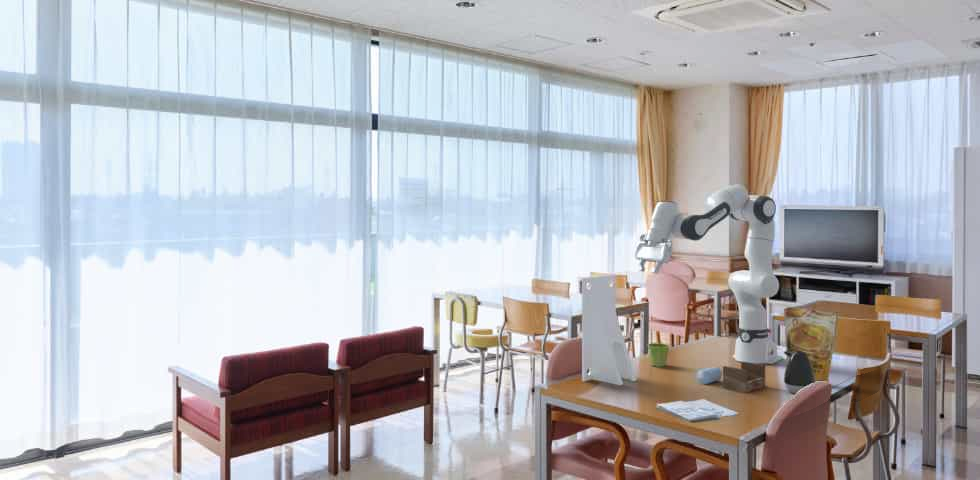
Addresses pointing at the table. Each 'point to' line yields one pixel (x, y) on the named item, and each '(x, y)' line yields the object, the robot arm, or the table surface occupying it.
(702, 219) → the robot arm
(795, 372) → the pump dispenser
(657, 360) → the plant pot
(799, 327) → the pancake mix bag
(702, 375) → the blue roll
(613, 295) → the white bracket plate
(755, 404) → the table surface
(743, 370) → the open wooden box
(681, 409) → the light blue flat cloth
